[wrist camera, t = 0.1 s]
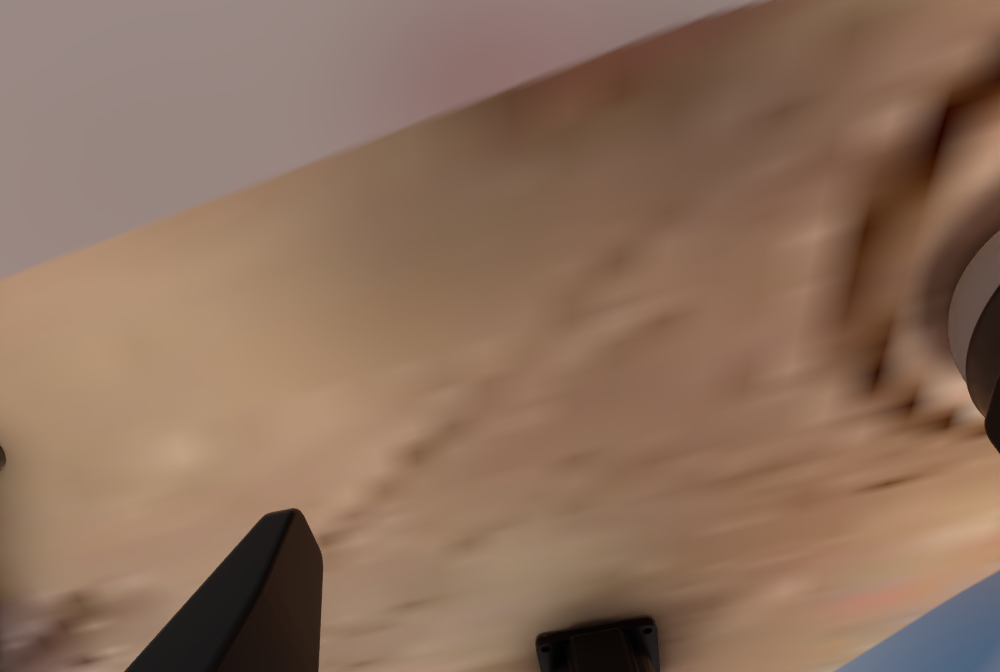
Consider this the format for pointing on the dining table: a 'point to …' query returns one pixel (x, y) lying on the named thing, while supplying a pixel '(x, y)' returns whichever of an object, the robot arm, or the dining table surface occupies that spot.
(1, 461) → the gate posts
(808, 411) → the dining table surface
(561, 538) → the dining table surface
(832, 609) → the dining table surface
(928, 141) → the dining table surface
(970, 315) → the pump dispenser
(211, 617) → the robot arm
